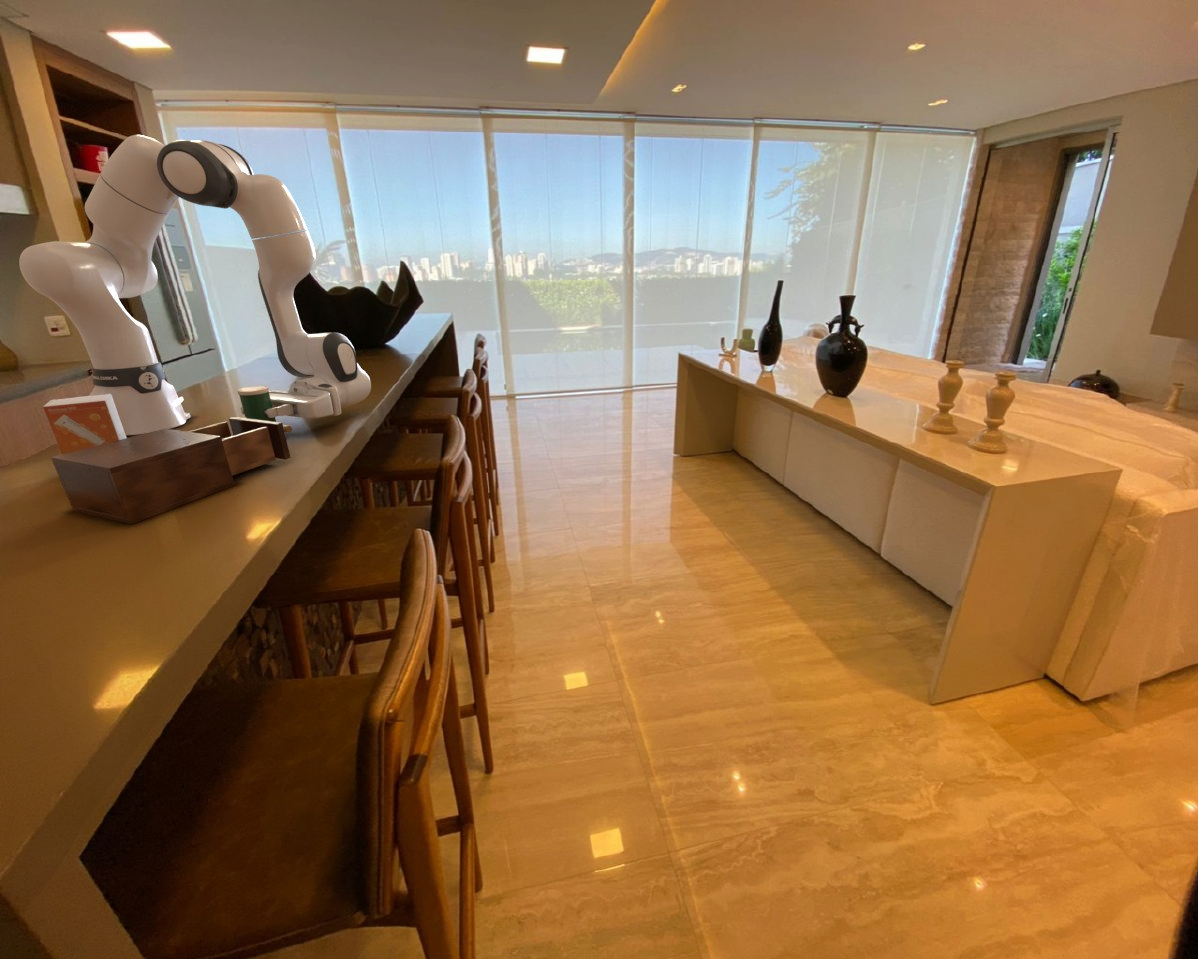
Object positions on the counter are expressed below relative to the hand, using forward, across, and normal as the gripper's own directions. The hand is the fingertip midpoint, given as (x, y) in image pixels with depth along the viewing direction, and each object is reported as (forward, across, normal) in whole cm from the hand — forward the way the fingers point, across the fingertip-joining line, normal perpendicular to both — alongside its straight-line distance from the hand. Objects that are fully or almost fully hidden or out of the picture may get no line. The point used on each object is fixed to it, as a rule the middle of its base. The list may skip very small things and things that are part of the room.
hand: (255, 412), depth 109 cm
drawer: (+13, +11, +5) cm, 18 cm away
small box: (+22, -12, +6) cm, 26 cm away
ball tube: (-1, 0, +6) cm, 6 cm away
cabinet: (+27, +11, +6) cm, 30 cm away
